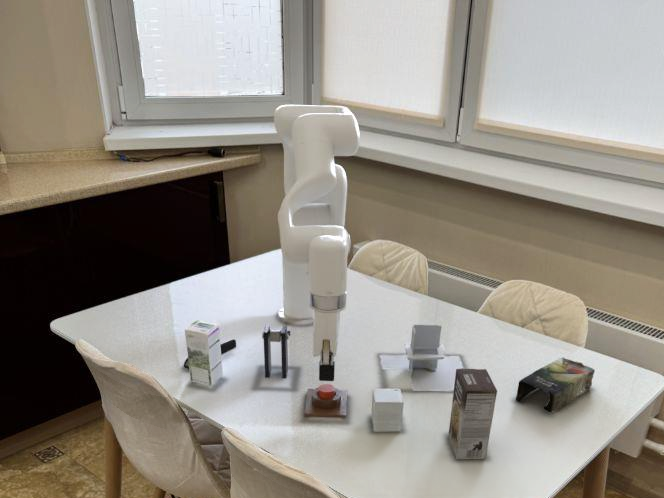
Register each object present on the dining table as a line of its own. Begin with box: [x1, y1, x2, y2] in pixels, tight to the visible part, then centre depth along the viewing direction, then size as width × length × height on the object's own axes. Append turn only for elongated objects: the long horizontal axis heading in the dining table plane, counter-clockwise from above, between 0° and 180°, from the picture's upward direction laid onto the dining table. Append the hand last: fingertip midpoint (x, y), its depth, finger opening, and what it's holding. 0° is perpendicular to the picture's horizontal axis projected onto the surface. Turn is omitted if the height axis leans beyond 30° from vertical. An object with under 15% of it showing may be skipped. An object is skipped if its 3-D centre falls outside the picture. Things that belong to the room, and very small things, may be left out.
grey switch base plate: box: [379, 324, 465, 393], centre depth 168 cm, size 19×21×12 cm
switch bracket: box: [261, 324, 290, 379], centre depth 162 cm, size 11×9×13 cm
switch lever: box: [270, 329, 291, 343], centre depth 164 cm, size 12×5×2 cm, turn 0°
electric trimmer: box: [183, 338, 237, 372], centre depth 171 cm, size 4×16×3 cm, turn 142°
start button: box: [317, 383, 336, 398], centre depth 152 cm, size 4×4×2 cm
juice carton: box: [515, 356, 595, 414], centre depth 162 cm, size 20×10×6 cm, turn 136°
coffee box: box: [448, 368, 498, 460], centre depth 139 cm, size 9×6×16 cm
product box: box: [370, 388, 405, 433], centre depth 148 cm, size 6×6×7 cm
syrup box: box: [184, 320, 224, 387], centre depth 158 cm, size 6×6×14 cm
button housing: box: [303, 387, 348, 419], centre depth 153 cm, size 11×9×4 cm
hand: (326, 379), depth 150 cm, fingers closed
